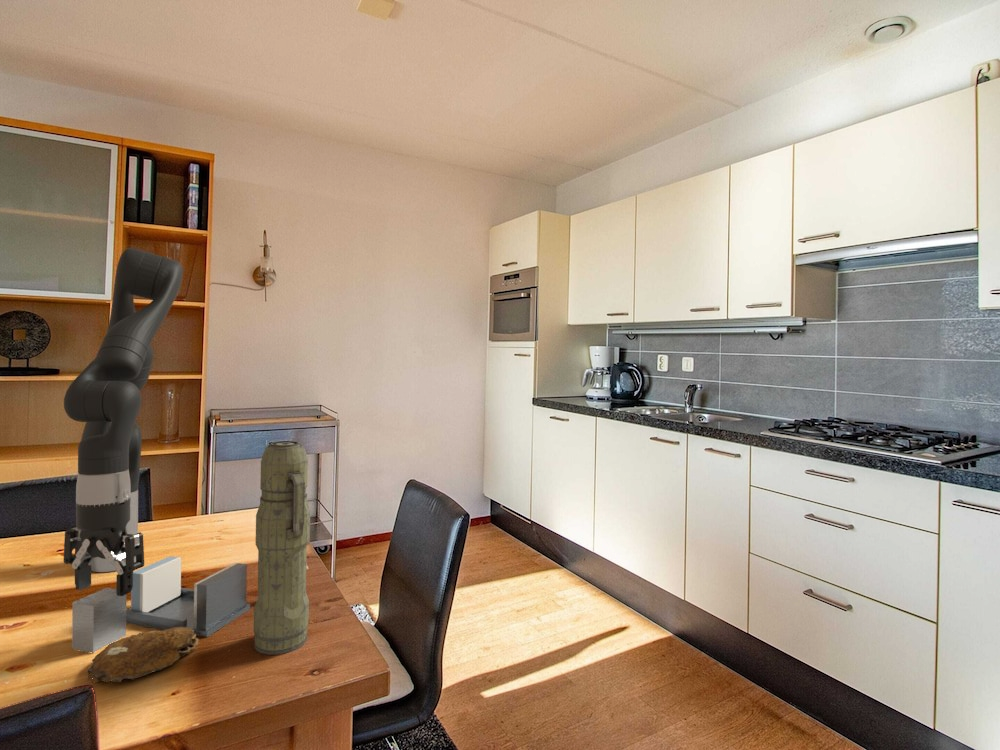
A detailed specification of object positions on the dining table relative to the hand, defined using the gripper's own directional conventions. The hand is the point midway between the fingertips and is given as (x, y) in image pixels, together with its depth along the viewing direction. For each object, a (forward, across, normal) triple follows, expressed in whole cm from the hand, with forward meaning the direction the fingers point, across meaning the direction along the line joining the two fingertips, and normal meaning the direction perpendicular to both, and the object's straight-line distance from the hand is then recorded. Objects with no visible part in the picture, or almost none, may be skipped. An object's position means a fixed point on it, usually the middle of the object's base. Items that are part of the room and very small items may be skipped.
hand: (103, 591), depth 92 cm
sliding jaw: (+7, -1, +12) cm, 14 cm away
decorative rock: (+10, +12, -3) cm, 15 cm away
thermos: (+9, +28, +9) cm, 31 cm away
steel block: (+9, -1, 0) cm, 9 cm away
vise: (+9, +6, +12) cm, 16 cm away
